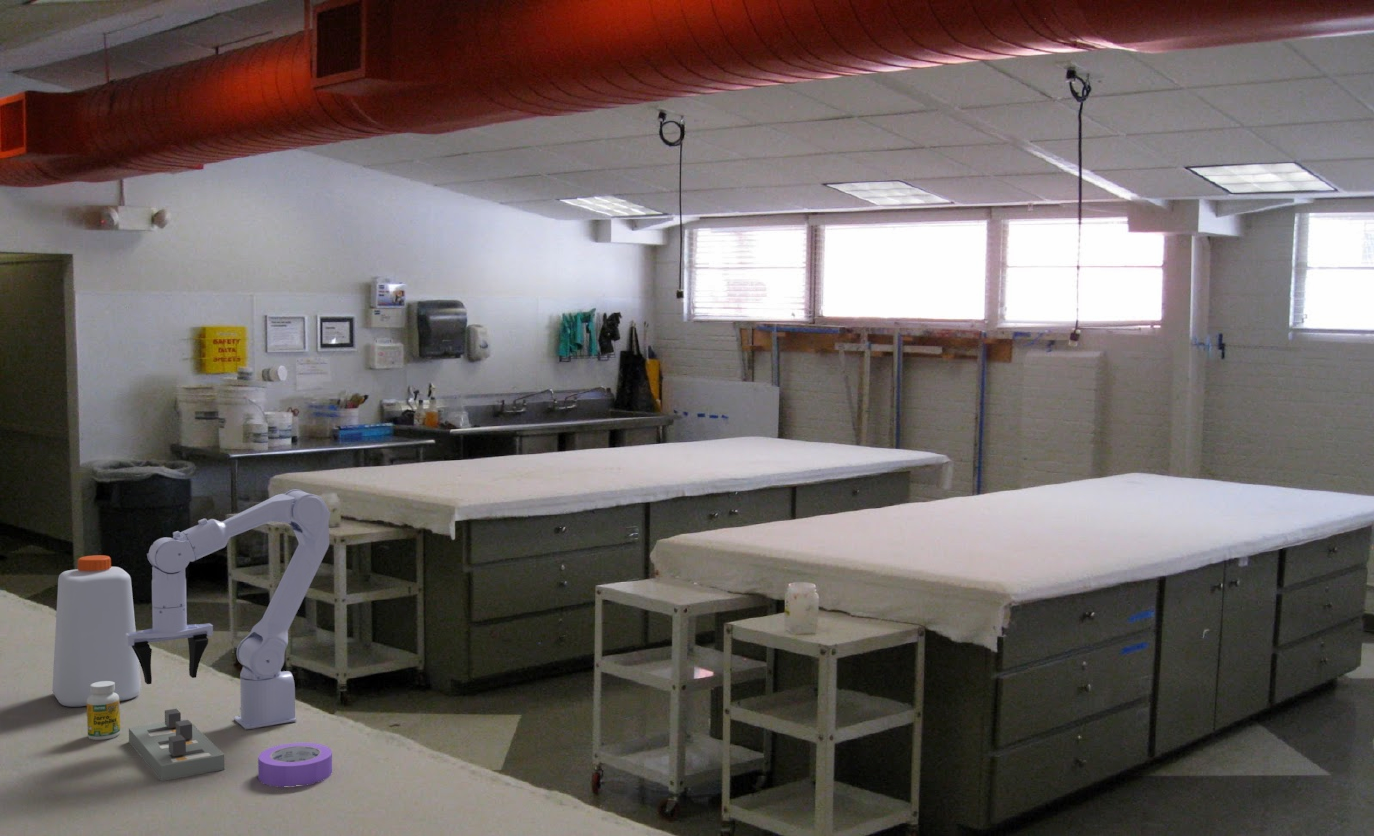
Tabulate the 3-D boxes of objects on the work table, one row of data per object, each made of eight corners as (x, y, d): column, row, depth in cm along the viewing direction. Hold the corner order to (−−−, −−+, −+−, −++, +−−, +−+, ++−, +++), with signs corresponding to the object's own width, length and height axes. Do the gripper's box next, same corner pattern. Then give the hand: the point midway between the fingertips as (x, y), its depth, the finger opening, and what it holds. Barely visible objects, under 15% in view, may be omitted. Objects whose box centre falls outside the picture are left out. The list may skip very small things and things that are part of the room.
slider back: (176, 722, 228) (176, 708, 228) (180, 726, 225) (180, 712, 225) (164, 723, 227) (164, 710, 227) (168, 728, 224) (168, 714, 224)
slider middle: (187, 733, 221) (187, 719, 221) (192, 738, 219) (192, 724, 219) (175, 735, 220) (175, 721, 220) (180, 740, 218) (179, 725, 218)
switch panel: (187, 731, 232) (187, 717, 231) (224, 769, 212) (224, 753, 212) (129, 741, 226) (128, 726, 226) (161, 780, 206) (161, 764, 206)
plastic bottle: (145, 699, 252) (142, 559, 250) (61, 711, 244) (58, 566, 242) (130, 681, 265) (127, 548, 263) (49, 692, 256) (46, 555, 254)
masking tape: (346, 768, 214) (346, 746, 213) (304, 792, 203) (303, 768, 202) (287, 760, 217) (287, 738, 217) (243, 783, 206) (242, 760, 206)
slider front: (181, 749, 213) (181, 734, 213) (185, 754, 211) (185, 739, 211) (168, 751, 212) (168, 736, 212) (173, 756, 210) (172, 741, 209)
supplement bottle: (117, 729, 233) (116, 678, 232) (122, 737, 228) (121, 684, 228) (85, 734, 230) (84, 682, 229) (90, 742, 225) (88, 689, 225)
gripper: (205, 596, 235) (206, 668, 236) (121, 605, 227) (122, 680, 227) (215, 603, 229) (216, 677, 230) (129, 612, 221) (131, 689, 222)
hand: (170, 679), depth 228 cm, fingers open, 7 cm apart
